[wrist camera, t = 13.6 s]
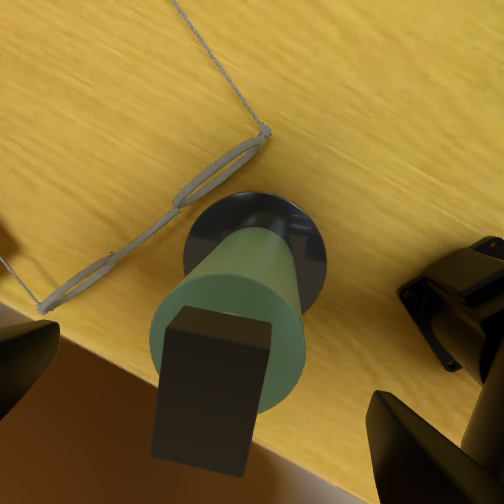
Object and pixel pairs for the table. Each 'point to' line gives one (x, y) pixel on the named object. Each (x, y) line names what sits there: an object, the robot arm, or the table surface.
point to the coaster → (268, 217)
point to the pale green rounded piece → (226, 351)
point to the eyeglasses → (178, 202)
